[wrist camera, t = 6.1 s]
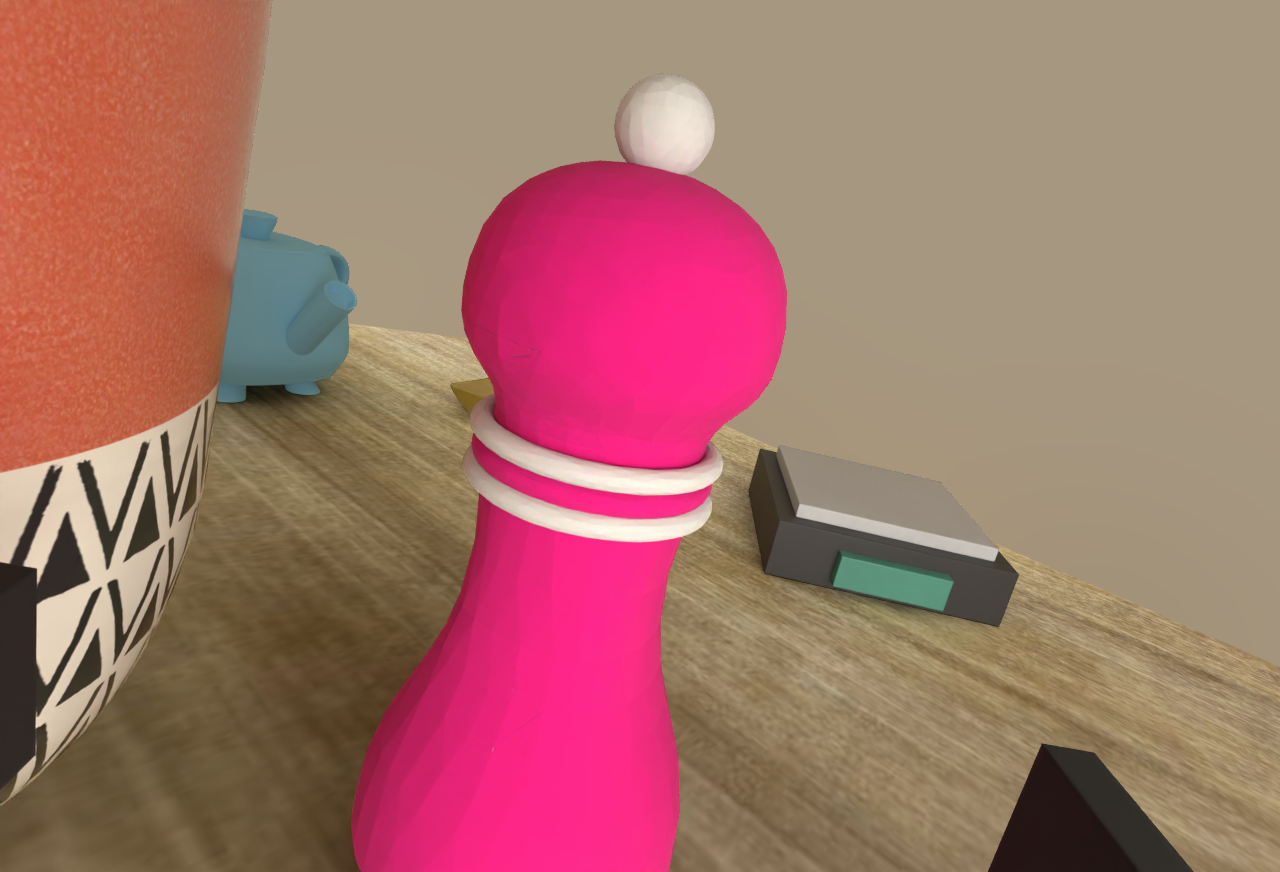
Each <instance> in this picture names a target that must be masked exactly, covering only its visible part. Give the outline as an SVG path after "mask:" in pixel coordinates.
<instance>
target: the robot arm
mask: <svg viewBox="0 0 1280 872" xmlns="http://www.w3.org/2000/svg"><path fill="white" fill-rule="evenodd" d="M36 641H37V568H32V567H26V566H20V565H15V564H9V563H3V562H0V790H1V789H2V788H3V787H4V786H5V785H6V784H7V783H8V782H9V781H10V780H11V779H12V778H13V777H14V776H15V775H16V774H17V773H18V772H19V771H20V770H21V769H22V768H23V767H24V766H25V765H26V764H27V763H28V762H29V761H30V760H31V759H32V758H33V757H34V756H35V755H36ZM988 872H1193V870H1192V869H1191V868H1190V867H1189V866H1188V864H1187V863H1186V862H1185V861H1184V860H1183V858H1182V857H1181V856H1180V855H1179V854H1178V852H1177V851H1176V850H1175V849H1174V848H1173V846H1172V845H1171V844H1170V843H1169V842H1168V840H1167V839H1166V838H1165V837H1164V836H1163V834H1162V833H1161V832H1160V831H1159V830H1158V828H1157V827H1156V826H1155V825H1154V824H1153V822H1152V821H1151V820H1150V819H1149V818H1148V816H1147V815H1146V814H1145V813H1144V812H1143V811H1142V809H1141V808H1140V807H1139V806H1138V805H1137V803H1136V802H1135V801H1134V800H1133V799H1132V797H1131V796H1130V795H1129V794H1128V793H1127V791H1126V790H1125V789H1124V788H1123V787H1122V785H1121V784H1120V783H1119V782H1118V781H1117V779H1116V778H1115V777H1114V776H1113V775H1112V773H1111V772H1110V771H1109V770H1108V769H1107V767H1106V766H1105V765H1104V764H1103V763H1102V761H1101V760H1100V759H1099V758H1098V757H1097V755H1096V754H1095V753H1093V752H1087V751H1082V750H1076V749H1070V748H1064V747H1059V746H1053V745H1047V744H1042V745H1041V747H1040V749H1039V752H1038V754H1037V757H1036V759H1035V761H1034V764H1033V766H1032V768H1031V771H1030V773H1029V775H1028V778H1027V780H1026V783H1025V785H1024V787H1023V790H1022V792H1021V794H1020V797H1019V799H1018V802H1017V804H1016V806H1015V809H1014V811H1013V813H1012V816H1011V818H1010V821H1009V823H1008V825H1007V828H1006V830H1005V832H1004V835H1003V837H1002V839H1001V842H1000V844H999V847H998V849H997V851H996V854H995V856H994V858H993V861H992V863H991V866H990V868H989V870H988Z"/></svg>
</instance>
